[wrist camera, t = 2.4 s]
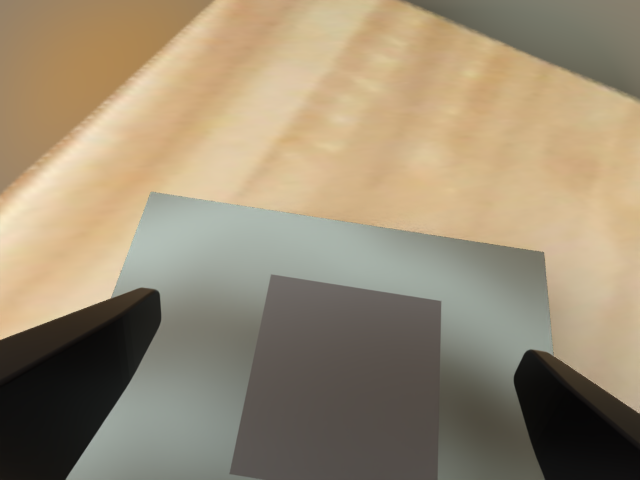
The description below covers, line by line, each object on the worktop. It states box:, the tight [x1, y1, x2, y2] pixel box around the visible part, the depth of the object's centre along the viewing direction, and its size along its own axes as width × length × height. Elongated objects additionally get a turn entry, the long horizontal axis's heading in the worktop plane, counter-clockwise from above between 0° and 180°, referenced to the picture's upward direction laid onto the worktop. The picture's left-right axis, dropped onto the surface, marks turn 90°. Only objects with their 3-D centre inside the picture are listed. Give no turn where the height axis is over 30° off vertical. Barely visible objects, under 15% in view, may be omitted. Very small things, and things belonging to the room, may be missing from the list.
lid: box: [66, 192, 554, 480], centre depth 9 cm, size 11×15×8 cm
